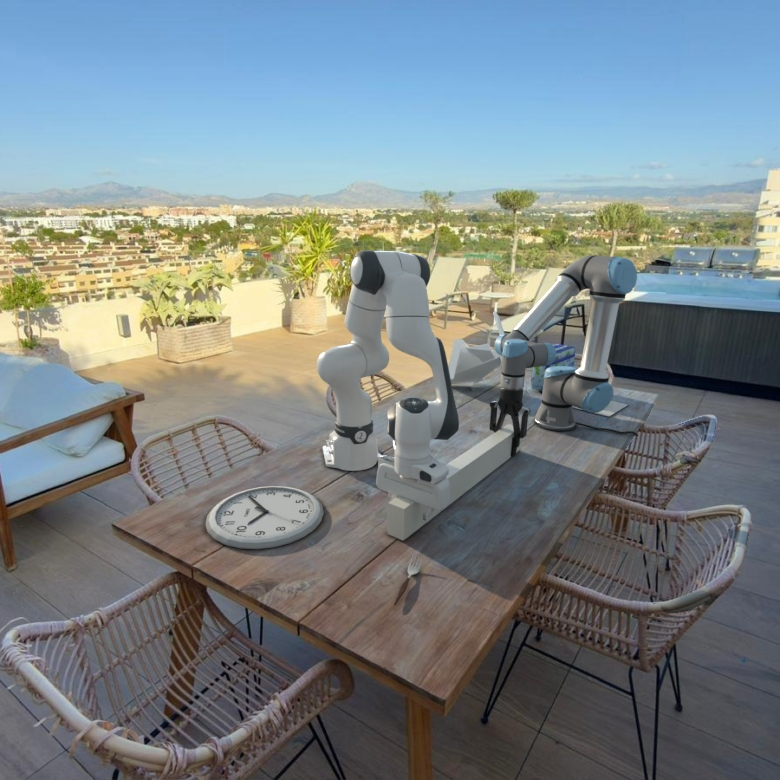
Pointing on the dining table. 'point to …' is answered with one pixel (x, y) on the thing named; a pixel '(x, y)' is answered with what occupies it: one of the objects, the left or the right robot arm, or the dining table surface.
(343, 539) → the dining table surface
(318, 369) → the left robot arm
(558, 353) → the lunch box
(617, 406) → the invitation card
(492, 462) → the post
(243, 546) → the wall clock
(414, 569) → the fork
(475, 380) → the white plastic object
